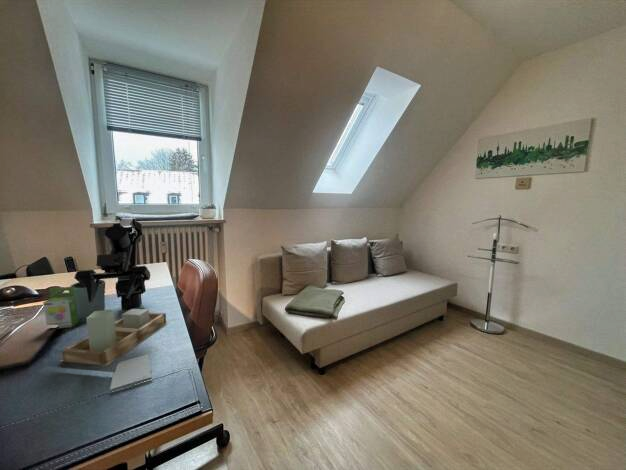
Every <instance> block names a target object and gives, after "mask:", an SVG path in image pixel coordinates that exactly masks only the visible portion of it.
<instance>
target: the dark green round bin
mask: <svg viewBox="0 0 626 470" xmlns="http://www.w3.org/2000/svg"><path fill="white" fill-rule="evenodd" d="M97 284H98V285H99V286H98V289H97V292H96V295H95V298H94V300H93V302H92V303H90V302H89V300H88V294H87V289H86V286H85V285H82V284H81V283H80V282H78V281H77V282H74V283H72V284H71V285H69V287H74V294H75V299H76V306H77V314H78V319H86V318H87V317H88V316H90V315H91V314H92V313H93V312H94V311H103V310H106V303H105V301H106V299H105V298H106V296H105V294H106V280H105V279H100V280H99V283H97Z"/></svg>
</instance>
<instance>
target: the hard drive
mask: <svg viewBox="0 0 626 470" xmlns="http://www.w3.org/2000/svg"><path fill="white" fill-rule="evenodd" d="M116 365H117V366H116V368H115V369H116V370H115V371H113V373H112V378H111V381H110V386H109V393H110V392H112V391H116V390H118V389H121V388H126V387H129V386H133V385H135V384H138V383H141V382H144V381H147V380H150V379H152V380H153V371H150V356H149V354H144V355H142V356H137V357H133V358H130V359H127V360H123V361H120V362H118V363H117V364H116Z"/></svg>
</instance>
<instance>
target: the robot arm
mask: <svg viewBox="0 0 626 470" xmlns="http://www.w3.org/2000/svg"><path fill="white" fill-rule="evenodd" d="M112 224H113V225H112V226H109V227H108V228H106V230H105V231H104V236H105V239H106V242H107V244H108V246H109V248H110V252H109V254H98V255H96V263H95V264H96V267H100V270H101V271H104V272H96V271H95V270H94V269H81V270H77V271H76V272H75V275H74V279H75V280H76V282H77V283H78V282H80V283H81V284H82V285H85V286H86V289H87V294H88V300H89V302H90V303H92V302H93V300H94V298H95V295H96V292H97V289H98V286H99V285H98V284H97V283H99V280H106V279H117V281H116V282H115V291H116V297H117V298H121V299H120V303H121V304H120V306H121V311H129V310H131V309H138V308H139V307H140V306H141V305H142V304H143V302H142V295H143V294H144V293H146V283H145V282H146V281H149V280H151V272H150V270H149V269H148V267H147V266H146V265H137V262H138V261H137V259H138V258H137V256H138V254H137V253H138V244H139V243H140V242H142V237H143V236H144V231H143V225H142V223H140V222H139V221H137V220H136V218H135V217H121V218H120V221H119V222H118V223H112Z"/></svg>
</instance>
